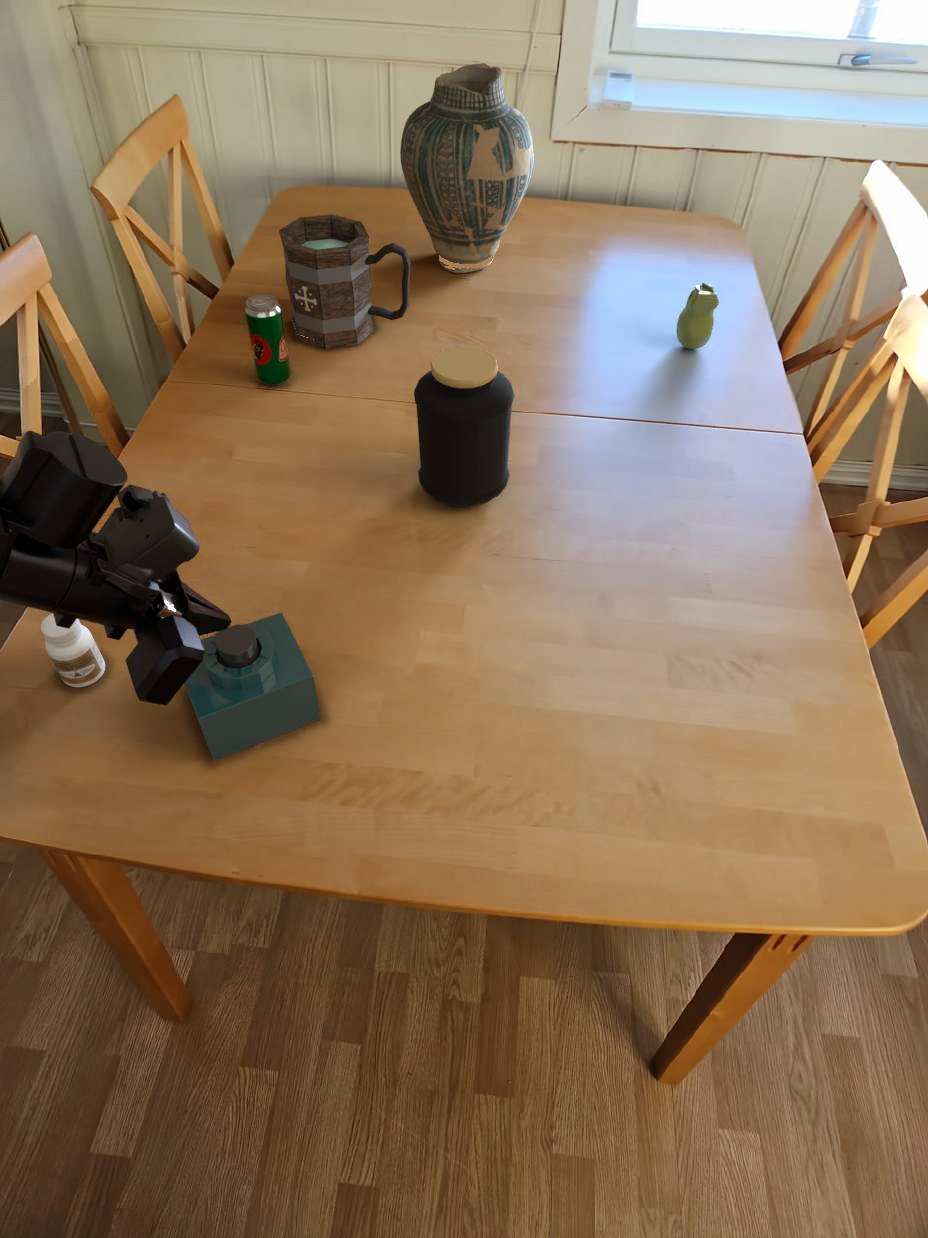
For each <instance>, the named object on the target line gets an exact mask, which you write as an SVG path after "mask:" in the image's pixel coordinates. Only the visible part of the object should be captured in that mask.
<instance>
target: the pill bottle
mask: <svg viewBox="0 0 928 1238" xmlns="http://www.w3.org/2000/svg"><path fill="white" fill-rule="evenodd" d="M40 632H41V634H42V636H43V638H44V640H45V642H44V649H45V651H46V653H47V655H48V657H49V659H50V661H51V662H52V664H53V666H54V667H55V670H56V672H57V673H58V676H60V678H61V680H62V681H63V682H64V684H66V685H67V686H69V687H73V688H83V687H88V686H90V685H93V684H95V683H96V682H97V681H98V680H100V679H101V677H103V675H104V674H105V671H106V662H105V659H104V657H103V655H102V654H101V651H100V649H99V647H98V645H97V642H96V641H95V639H94V637H93V635H92V633H91V631H90V630H89V629H88V627H86V626H85V625H83V624H82V623H81V622H80V619H76V620H75V622H74V623H73V624H72V626H71V627H70V629H68V628H64V627H59V626H56V622H55V618H54V614H53V613H50V614H49V615H47V616H46V617H45V618H44V619H43V620H42V621H41V623H40Z"/></svg>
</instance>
